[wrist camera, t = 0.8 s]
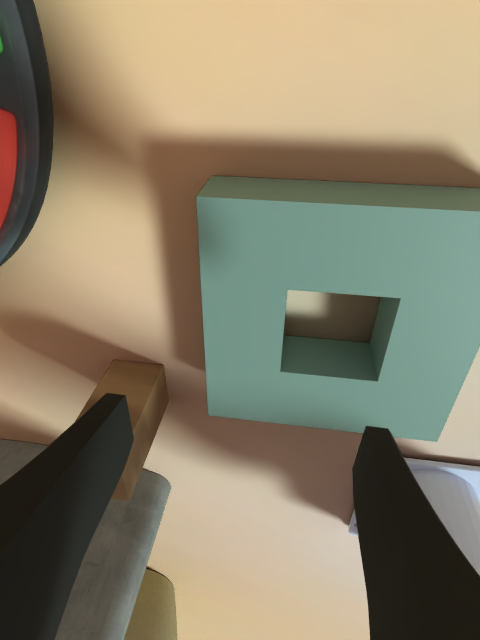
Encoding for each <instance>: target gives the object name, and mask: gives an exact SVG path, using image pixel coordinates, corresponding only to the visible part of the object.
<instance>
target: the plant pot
mask: <svg viewBox="0 0 480 640" xmlns="http://www.w3.org/2000/svg"><path fill="white" fill-rule="evenodd" d="M124 640H177V620H176V605H175V593H174V587H173V584H172V583H171V582H170V581H169V580H168V579H167V578H166V577H164V576H163V575H161V574H159V573H157V572H154V571H152V570H149V569H145V573H144V576H143V579H142V582H141V585H140V589H139V592H138V595H137V598H136V601H135V605H134V608H133V611H132V614H131V617H130V621H129V624H128V627H127V630H126V633H125V637H124Z"/></svg>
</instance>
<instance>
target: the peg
mask: <svg viewBox="0 0 480 640" xmlns="http://www.w3.org/2000/svg"><path fill="white" fill-rule="evenodd" d="M106 393H112V394H120V395H126V399H127V404H128V409H129V415H130V420H131V425H132V430H133V435H134V441H133V444H132V447H131V450H130V454H129V457H128V460H127V462H126V465H125V468H124V471H123V473H122V475H121V478H120V480H119V482H118V484H117V486H116V488H115V491H114V493H113V495H112V497H111V499H117V500H124V501H130V498H131V496H132V493H133V490H134V488H135V485H136V483H137V480H138V478H139V475H140V473H141V470H142V468H143V465H144V463H145V460H146V458H147V455H148V452H149V450H150V447H151V445H152V442H153V440H154V437H155V435H156V432H157V430H158V427H159V425H160V422H161V420H162V417H163V414H164V412H165V409H166V407H167V404H168V394H167V387H166V379H165V372H164V365H160V364H150V363H140V362H131V361H121V360H113V362H112V363H111V365H110V366H109V368H108V370H107V371H106V373H105V374H104V376H103V378H102V379H101V381H100V382H99V384H98V386H97V387H96V389H95V390H94V392H93V394H92V395H91V397H90V398H89V400H88V402H87V403H86V405H85V407H84V408H83V410H82V411H81V413H80V415H79V416H78V418H77V419H76V421H77V420H78V419H79V418H80V417H81V416H82V415H83V414H84V413H85V412H86V411H87V410H89V409H90V408H91V407H92V406H93V405H94V404H95V403H96V402H97V401H98V400H99V399H100V398H101V397H102V396H103V395H105V394H106ZM76 421H75V422H76Z"/></svg>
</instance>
